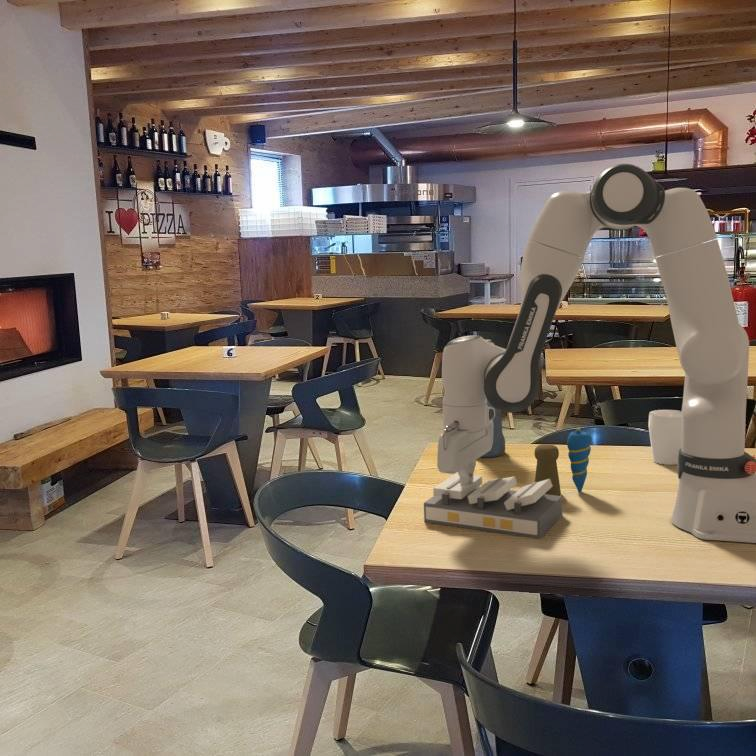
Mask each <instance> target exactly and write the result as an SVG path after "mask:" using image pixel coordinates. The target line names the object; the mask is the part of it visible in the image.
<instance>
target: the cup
mask: <svg viewBox="0 0 756 756" xmlns="http://www.w3.org/2000/svg"><path fill="white" fill-rule="evenodd" d="M681 423H682V410H677V409H657V410H656V409H655V410H651V411H649V413H648V424H647V425H648V432H649V441H650V446H651V455H652V456H651V457H652V461H653V462H654V463H655V464H658V463H659V464H660V465H663V464H664V465H665V466H666V465H667V466H673V465H674V466H676V465H678V454H679V450H680V448H681Z"/></svg>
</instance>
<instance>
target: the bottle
mask: <svg viewBox="0 0 756 756" xmlns="http://www.w3.org/2000/svg"><path fill="white" fill-rule="evenodd" d="M485 340H486V341H488V342H490V343H492V344H494V345H495V343H494V342H492V339H485ZM487 406H488V407H492V408H494V409H495V417H494V419H492V420H493V444H492V448H491V450H490V451H489V452H487V453H486V454H484V455H483V456H481V457H480V458H483V457H484V458H496V457H500V456H503V455H504V454H505V453H506V438H505V436H504V433H503V421H502V418H503V417H502V411H500V410H498V409H496V408H495V407H493V406H492V405H491V404H490V403H489V401H488V400H487Z"/></svg>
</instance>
